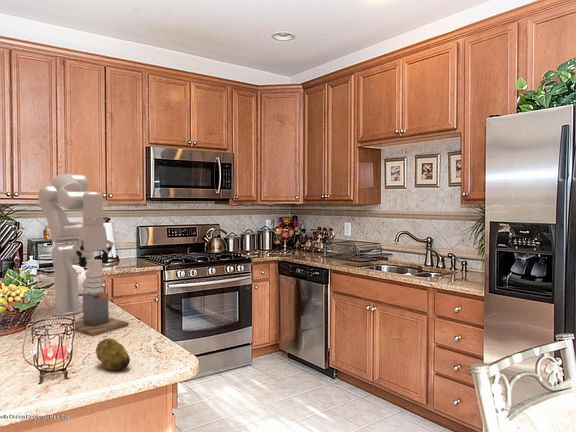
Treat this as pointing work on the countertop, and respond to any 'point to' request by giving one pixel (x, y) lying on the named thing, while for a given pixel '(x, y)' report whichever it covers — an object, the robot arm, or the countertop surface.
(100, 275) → the steel post
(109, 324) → the stand
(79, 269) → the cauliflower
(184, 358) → the countertop surface
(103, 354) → the potato
